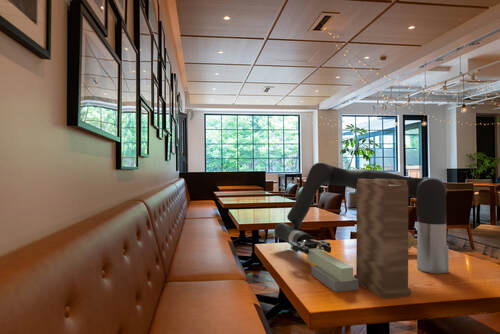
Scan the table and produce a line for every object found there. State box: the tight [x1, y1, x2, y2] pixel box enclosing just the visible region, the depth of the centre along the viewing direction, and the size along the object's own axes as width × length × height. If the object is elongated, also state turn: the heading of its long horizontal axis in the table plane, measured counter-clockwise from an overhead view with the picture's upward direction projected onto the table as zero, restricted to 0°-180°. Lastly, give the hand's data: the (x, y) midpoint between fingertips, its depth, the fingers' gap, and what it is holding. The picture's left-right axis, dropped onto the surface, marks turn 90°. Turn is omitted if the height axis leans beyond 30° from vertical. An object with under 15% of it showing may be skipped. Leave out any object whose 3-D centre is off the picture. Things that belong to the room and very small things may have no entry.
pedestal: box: [353, 179, 412, 300], centre depth 100 cm, size 15×9×34 cm, turn 15°
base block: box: [310, 265, 359, 293], centre depth 106 cm, size 16×8×3 cm, turn 15°
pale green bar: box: [306, 247, 354, 282], centre depth 109 cm, size 24×4×4 cm, turn 15°
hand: (319, 250), depth 115 cm, fingers open, 8 cm apart
